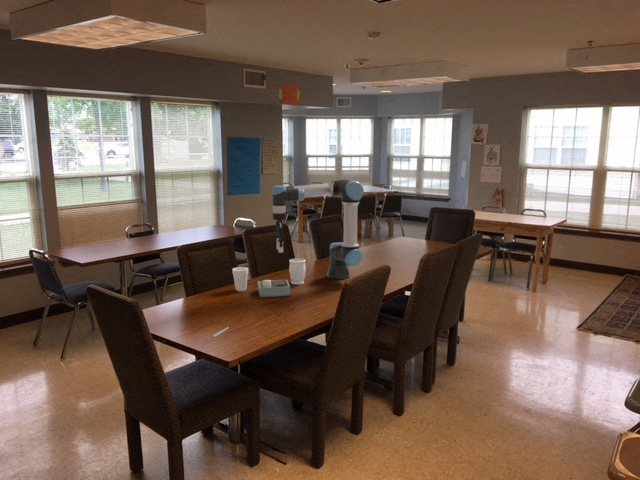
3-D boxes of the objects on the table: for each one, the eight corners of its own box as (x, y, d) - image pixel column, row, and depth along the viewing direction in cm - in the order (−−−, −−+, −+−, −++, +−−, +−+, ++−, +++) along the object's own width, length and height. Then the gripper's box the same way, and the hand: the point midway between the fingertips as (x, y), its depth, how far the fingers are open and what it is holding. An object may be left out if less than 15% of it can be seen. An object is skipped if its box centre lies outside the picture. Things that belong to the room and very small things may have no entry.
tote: (287, 288, 312) (286, 279, 311) (290, 295, 297) (290, 286, 296) (258, 289, 309) (257, 281, 308) (260, 297, 293) (259, 288, 292)
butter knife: (209, 335, 235) (215, 336, 234) (239, 317, 259) (244, 318, 258) (209, 336, 235) (215, 337, 234) (239, 319, 260) (245, 319, 258)
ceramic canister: (270, 290, 305) (270, 279, 303) (271, 293, 300) (271, 281, 298) (262, 291, 304) (262, 279, 302) (263, 293, 299) (262, 282, 298)
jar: (303, 285, 318) (303, 262, 315) (287, 284, 320) (287, 261, 317) (307, 281, 328) (307, 258, 325) (291, 280, 330) (291, 257, 327)
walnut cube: (283, 290, 306) (283, 282, 305) (284, 292, 301) (284, 284, 300) (275, 290, 305) (275, 282, 304) (276, 292, 300) (276, 284, 299)
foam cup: (252, 289, 310) (251, 268, 308) (241, 292, 303) (241, 271, 300) (240, 286, 316) (239, 266, 313) (229, 290, 308) (229, 269, 306)
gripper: (271, 210, 304) (271, 247, 308) (274, 215, 283) (275, 254, 288) (283, 210, 306) (284, 246, 310) (288, 214, 285) (288, 254, 289)
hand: (279, 250), depth 299 cm, fingers open, 9 cm apart
